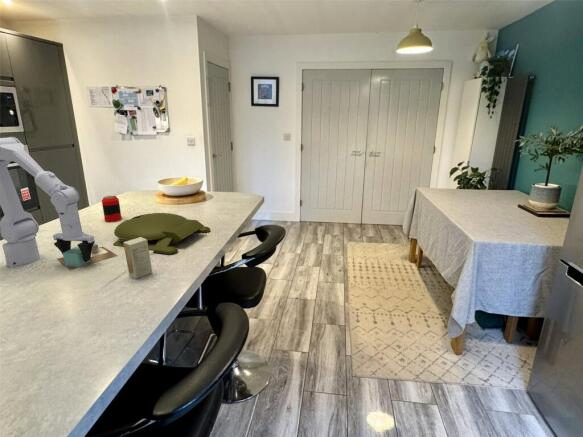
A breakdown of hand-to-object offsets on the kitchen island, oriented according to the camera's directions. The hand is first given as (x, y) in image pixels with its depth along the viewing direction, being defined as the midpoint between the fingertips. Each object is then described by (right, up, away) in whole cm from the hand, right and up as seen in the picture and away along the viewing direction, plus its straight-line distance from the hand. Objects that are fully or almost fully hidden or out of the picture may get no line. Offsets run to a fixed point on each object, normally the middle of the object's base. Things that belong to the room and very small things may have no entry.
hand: (78, 259), depth 119 cm
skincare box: (+25, -4, -6) cm, 26 cm away
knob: (0, -1, 0) cm, 1 cm away
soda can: (-15, +14, +52) cm, 56 cm away
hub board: (0, -1, +5) cm, 6 cm away
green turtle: (+18, +6, +28) cm, 34 cm away
